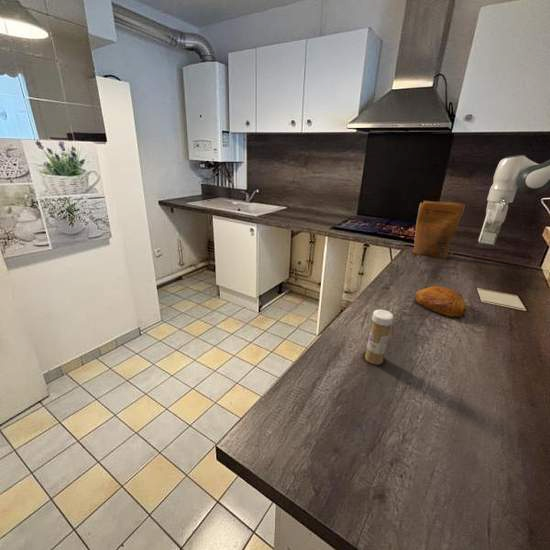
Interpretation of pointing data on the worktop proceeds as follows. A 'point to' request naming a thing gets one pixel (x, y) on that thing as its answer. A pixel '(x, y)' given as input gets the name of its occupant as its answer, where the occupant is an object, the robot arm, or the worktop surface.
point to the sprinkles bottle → (378, 336)
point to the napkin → (500, 299)
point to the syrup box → (488, 231)
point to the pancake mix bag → (436, 227)
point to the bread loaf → (442, 300)
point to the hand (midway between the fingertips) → (490, 229)
